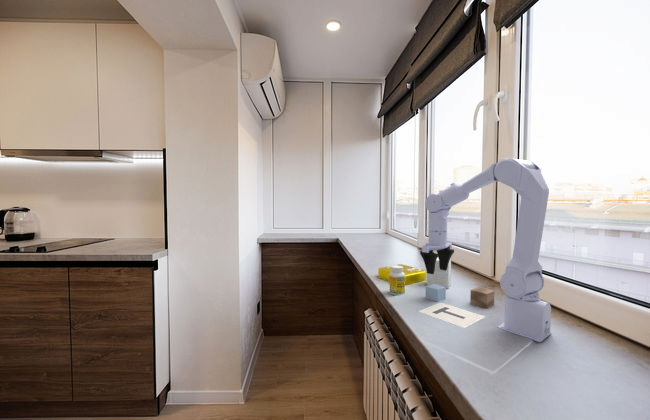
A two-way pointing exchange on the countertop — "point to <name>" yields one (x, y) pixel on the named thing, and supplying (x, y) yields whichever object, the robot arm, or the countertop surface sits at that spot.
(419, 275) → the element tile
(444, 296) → the dusty blue cube
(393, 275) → the supplement bottle
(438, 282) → the small box
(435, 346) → the countertop surface
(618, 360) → the countertop surface
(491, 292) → the walnut block
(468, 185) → the robot arm
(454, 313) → the letter card
